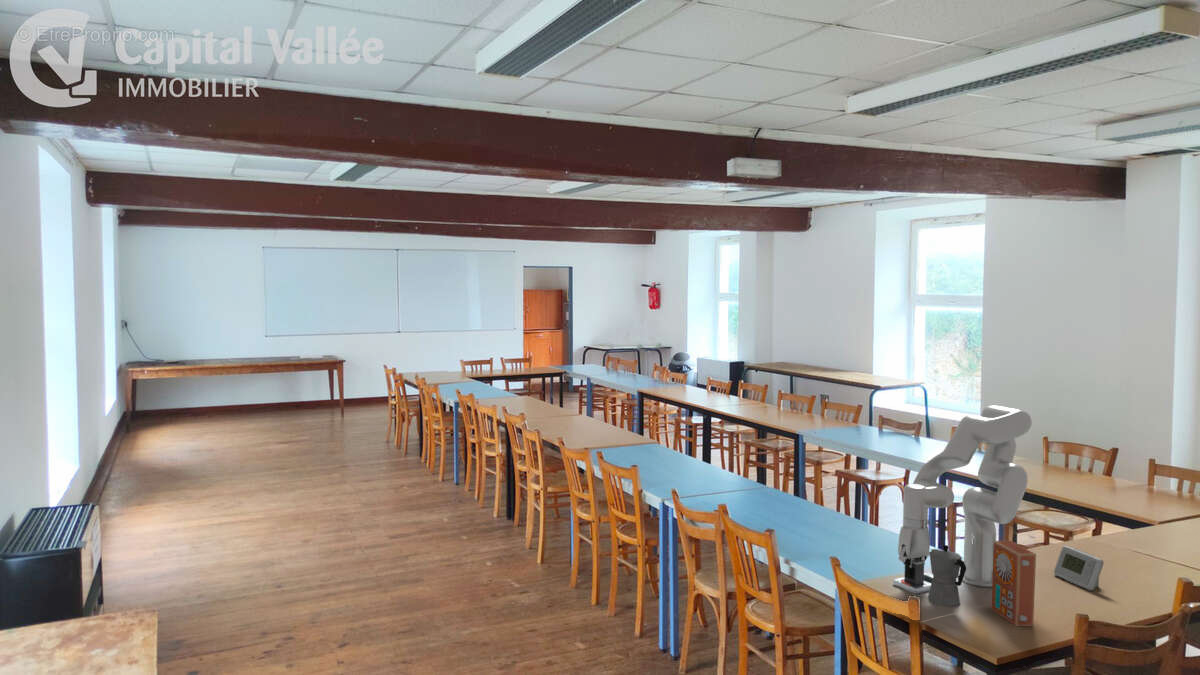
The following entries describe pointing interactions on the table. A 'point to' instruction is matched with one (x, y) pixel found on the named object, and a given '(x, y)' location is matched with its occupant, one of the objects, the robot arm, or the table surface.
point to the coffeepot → (946, 576)
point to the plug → (917, 573)
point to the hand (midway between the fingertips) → (914, 576)
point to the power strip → (913, 589)
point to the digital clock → (1079, 568)
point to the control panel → (1013, 583)
